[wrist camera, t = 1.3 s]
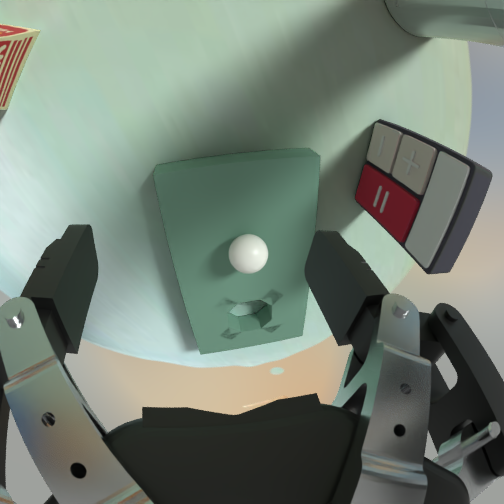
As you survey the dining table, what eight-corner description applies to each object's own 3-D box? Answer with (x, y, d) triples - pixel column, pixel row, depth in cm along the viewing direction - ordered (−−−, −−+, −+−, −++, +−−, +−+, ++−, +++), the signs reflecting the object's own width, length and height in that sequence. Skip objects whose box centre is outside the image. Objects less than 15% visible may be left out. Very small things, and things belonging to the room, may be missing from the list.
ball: (262, 224, 30) (272, 245, 26) (263, 255, 32) (272, 278, 29) (224, 229, 29) (229, 252, 26) (228, 260, 31) (233, 284, 28)
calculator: (372, 116, 27) (472, 162, 16) (398, 125, 28) (494, 173, 17) (349, 200, 34) (423, 277, 22) (375, 203, 35) (449, 274, 23)
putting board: (309, 147, 29) (320, 155, 26) (296, 321, 45) (302, 335, 43) (156, 165, 26) (153, 175, 24) (199, 339, 43) (200, 354, 41)
